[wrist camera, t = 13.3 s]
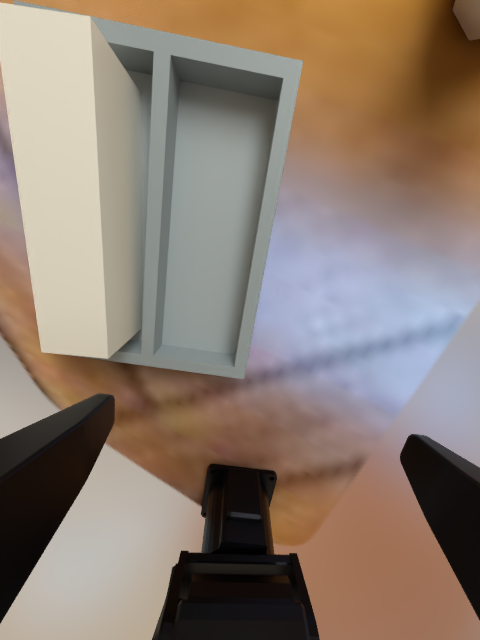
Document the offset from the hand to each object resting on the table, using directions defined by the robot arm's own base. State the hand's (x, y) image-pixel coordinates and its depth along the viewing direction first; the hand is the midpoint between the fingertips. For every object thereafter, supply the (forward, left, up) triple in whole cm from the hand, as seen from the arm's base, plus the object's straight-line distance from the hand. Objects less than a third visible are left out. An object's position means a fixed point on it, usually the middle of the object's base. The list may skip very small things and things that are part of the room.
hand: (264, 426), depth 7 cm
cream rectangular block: (+5, +10, -11) cm, 15 cm away
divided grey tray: (+5, +6, -12) cm, 15 cm away
